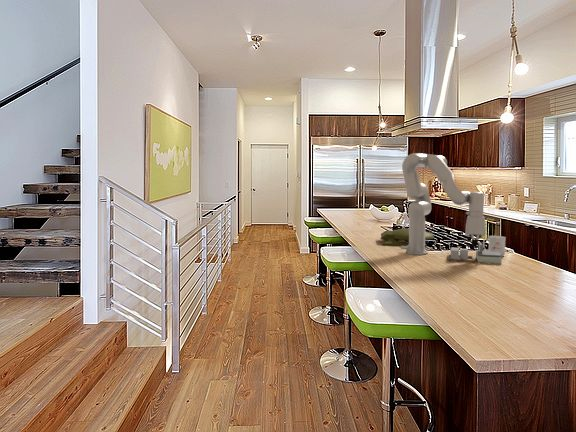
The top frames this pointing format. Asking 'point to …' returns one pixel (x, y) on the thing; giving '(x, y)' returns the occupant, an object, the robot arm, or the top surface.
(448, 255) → the tray
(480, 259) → the bin
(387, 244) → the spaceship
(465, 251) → the stone
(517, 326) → the top surface
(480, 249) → the bin lid
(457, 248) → the stone
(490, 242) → the mug
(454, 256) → the stone
